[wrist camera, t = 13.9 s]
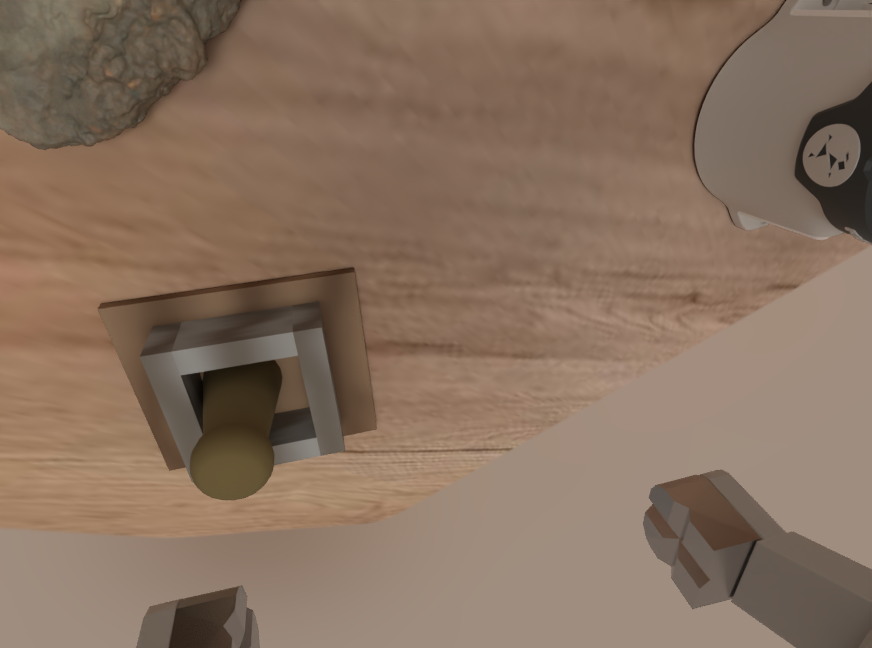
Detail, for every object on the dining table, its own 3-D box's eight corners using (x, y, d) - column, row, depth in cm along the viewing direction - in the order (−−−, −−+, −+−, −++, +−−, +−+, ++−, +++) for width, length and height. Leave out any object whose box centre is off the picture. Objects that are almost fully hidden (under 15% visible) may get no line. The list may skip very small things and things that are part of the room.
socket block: (353, 267, 40) (360, 295, 36) (375, 423, 49) (383, 460, 45) (100, 303, 37) (78, 339, 33) (171, 463, 46) (159, 507, 42)
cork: (293, 395, 44) (294, 496, 35) (221, 417, 43) (203, 526, 34) (266, 338, 41) (259, 433, 32) (189, 360, 40) (159, 464, 31)
